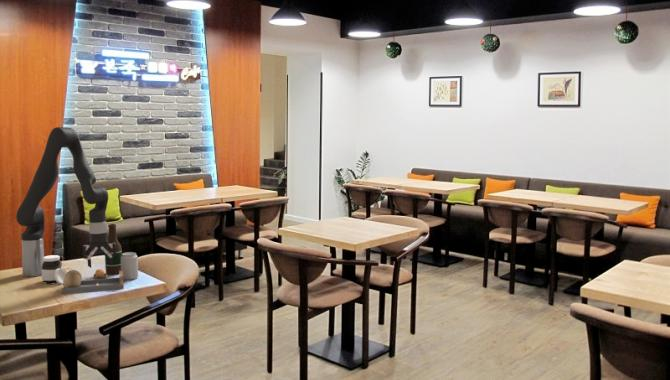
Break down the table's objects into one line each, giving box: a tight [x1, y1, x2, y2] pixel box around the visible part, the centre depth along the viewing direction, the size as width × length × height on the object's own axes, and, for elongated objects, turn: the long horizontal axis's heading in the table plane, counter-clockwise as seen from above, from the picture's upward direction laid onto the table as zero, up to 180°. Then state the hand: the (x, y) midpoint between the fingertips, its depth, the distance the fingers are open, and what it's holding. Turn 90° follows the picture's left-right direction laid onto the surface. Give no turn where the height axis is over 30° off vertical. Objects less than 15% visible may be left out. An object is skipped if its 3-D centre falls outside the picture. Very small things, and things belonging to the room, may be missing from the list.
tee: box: [92, 272, 108, 280], centre depth 286 cm, size 6×6×3 cm
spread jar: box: [41, 254, 68, 285], centre depth 285 cm, size 12×11×12 cm
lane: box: [61, 277, 121, 295], centre depth 277 cm, size 23×11×2 cm, turn 109°
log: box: [62, 269, 82, 288], centre depth 274 cm, size 7×8×7 cm
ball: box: [94, 268, 106, 277], centre depth 286 cm, size 4×4×4 cm
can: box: [121, 251, 139, 281], centre depth 292 cm, size 8×8×12 cm
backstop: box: [118, 270, 125, 290], centre depth 280 cm, size 2×11×6 cm, turn 19°
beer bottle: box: [104, 223, 123, 276], centre depth 300 cm, size 8×8×24 cm
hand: (100, 266), depth 286 cm, fingers open, 8 cm apart
